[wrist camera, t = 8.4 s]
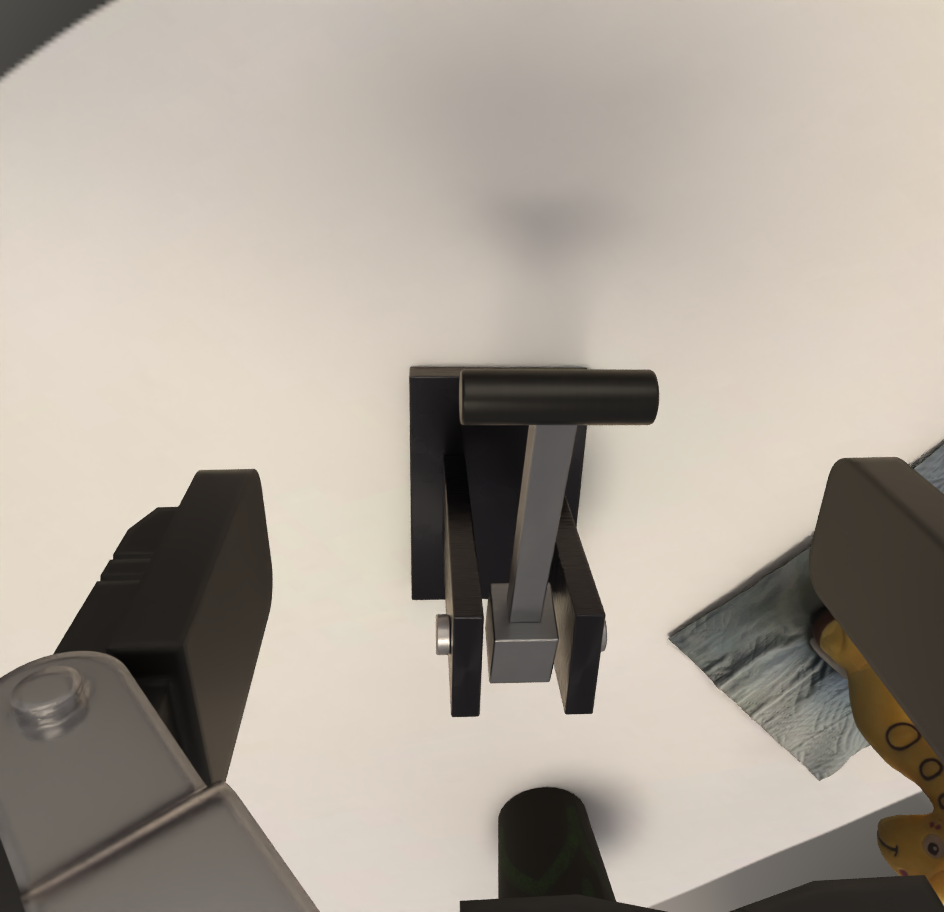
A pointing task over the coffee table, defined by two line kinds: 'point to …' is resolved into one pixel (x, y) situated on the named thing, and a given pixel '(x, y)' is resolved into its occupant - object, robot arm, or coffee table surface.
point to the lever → (543, 490)
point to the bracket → (490, 539)
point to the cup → (549, 848)
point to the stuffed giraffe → (822, 694)
